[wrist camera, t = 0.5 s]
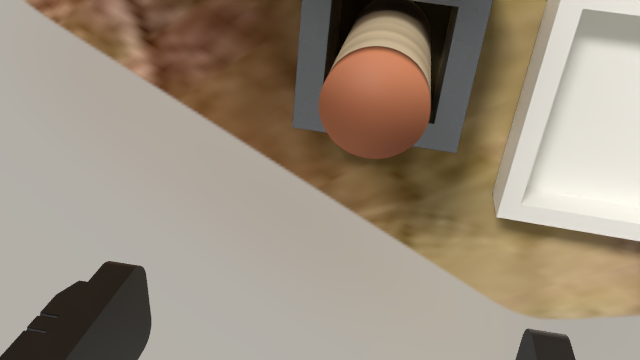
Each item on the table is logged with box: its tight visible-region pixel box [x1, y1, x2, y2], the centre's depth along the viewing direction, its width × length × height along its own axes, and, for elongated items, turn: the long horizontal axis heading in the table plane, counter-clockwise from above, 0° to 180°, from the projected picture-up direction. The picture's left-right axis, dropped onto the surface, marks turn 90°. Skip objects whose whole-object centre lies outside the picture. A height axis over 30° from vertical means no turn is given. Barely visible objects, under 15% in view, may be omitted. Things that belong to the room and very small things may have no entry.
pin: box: [319, 0, 431, 159], centre depth 25 cm, size 4×4×10 cm
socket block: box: [292, 0, 493, 153], centre depth 27 cm, size 8×8×4 cm
